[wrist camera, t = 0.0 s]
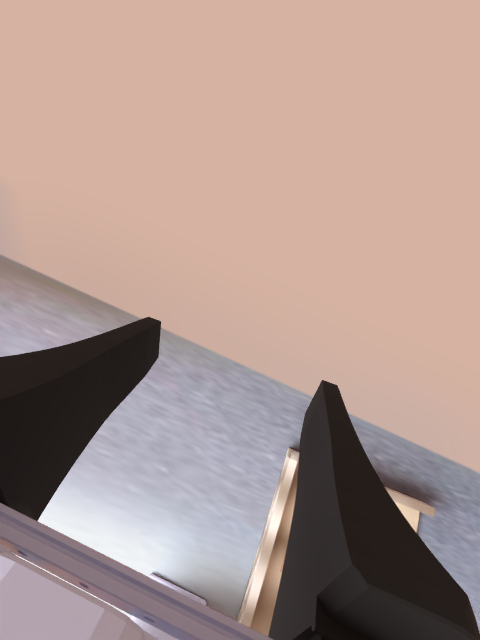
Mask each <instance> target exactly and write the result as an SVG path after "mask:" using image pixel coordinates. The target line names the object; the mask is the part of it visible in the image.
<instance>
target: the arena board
mask: <svg viewBox="0 0 480 640" xmlns="http://www.w3.org/2000/svg"><path fill="white" fill-rule="evenodd" d="M298 463H299V452H298V451H296V450H293V449H291V448H288V452H287V455H286V458H285V462H284V465H283V468H282V472H281V475H280V478H279V482H278V485H277V488H276V492H275V495H274V498H273V502H272V505H271V508H270V512H269V515H268V518H267V522H266V525H265V528H264V532H263V535H262V538H261V542H260V545H259V548H258V552H257V555H256V558H255V562H254V565H253V568H252V572H251V575H250V578H249V582H248V585H247V588H246V592H245V595H244V598H243V602H242V605H241V608H240V612H239V615H238V618H237V622H239V623H241V624H243V625H245V626H247V627H249V628H251V629H253V630H255V631H257V632H259V633H261V634H263V635H265V636H267V637H268V635H269V630H270V626H271V621H272V617H273V612H274V608H275V603H276V598H277V594H278V589H279V584H280V579H281V574H282V569H283V565H284V560H285V554H286V549H287V544H288V539H289V533H290V528H291V522H292V517H293V511H294V505H295V498H296V490H297V477H298ZM384 487H385V486H384ZM385 488H386V490H387V492H388V493H389V495H390V496H391V498H392V499H393V501H394V502H395V504H396V505H397V507H398V508H399V510H400V511H401V513H402V514H403V515H404V517H405V518H406V520H407V521H408V522H409V524H410V525H411V527H412V528H413V529H414V531H415V532H417V526H418V520H419V514H420V512H422V513H425V514H427V515H429V516H432V517H434V515H435V509H436V508H434V507H432V506H430V505H428V504H426V503H424V502H422V501H420V500H417V499H415V498H412V497H410V496H407V495H405V494H402V493H400V492H397V491H395V490H392V489H390V488H387V487H385Z"/></svg>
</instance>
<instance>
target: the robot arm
mask: <svg viewBox="0 0 480 640" xmlns="http://www.w3.org/2000/svg"><path fill="white" fill-rule="evenodd" d="M160 329H161V321H159V320H156V319H153V318H150V317H147V318H144V319H141V320H138V321H135V322H133V323H130V324H127V325H125V326H122V327H120V328H117V329H114V330H111V331H109V332H106V333H103V334H100V335H97V336H94V337H91V338H88V339H85V340H81V341H78V342H75V343H71V344H67V345H63V346H59V347H55V348H51V349H46V350H41V351H36V352H30V353H25V354H19V355H13V356H5V357H0V640H480V633H479V630H478V626H477V622H476V619H475V616H474V613H473V610H472V607H471V604H470V601H469V598H468V596H467V594H466V593H465V592H464V591H463V590H462V588H461V587H460V586H459V585H458V584H457V582H456V581H455V580H454V579H453V578H452V577H451V575H450V574H449V573H448V572H447V571H446V569H445V568H444V567H443V566H442V565H441V564H440V562H439V561H438V560H437V559H436V558H435V556H434V555H433V554H432V553H431V551H430V550H429V549H428V548H427V546H426V545H425V544H424V542H423V541H422V540H421V538H420V537H419V536H418V535H417V533H416V532H415V531H414V529H413V528H412V527H411V525H410V524H409V522H408V521H407V520H406V518H405V517H404V515H403V514H402V513H401V511H400V510H399V508H398V507H397V505H396V504H395V502H394V501H393V499H392V498H391V496H390V495H389V493H388V492H387V490H386V488H385V487H384V485H383V484H382V482H381V480H380V479H379V477H378V475H377V473H376V472H375V470H374V468H373V467H372V465H371V463H370V461H369V459H368V457H367V455H366V453H365V451H364V449H363V447H362V445H361V443H360V441H359V439H358V436H357V434H356V432H355V430H354V427H353V425H352V423H351V420H350V418H349V415H348V413H347V411H346V407H345V405H344V402H343V399H342V397H341V394H340V391H339V388H338V386H337V385H335V384H332V383H329V382H326V381H324V380H322V381H321V383H320V386H319V387H318V389H317V391H316V393H315V395H314V397H313V399H312V401H311V403H310V405H309V407H308V409H307V411H306V413H305V417H304V422H303V427H302V432H301V439H300V451H299V463H298V477H297V490H296V498H295V505H294V511H293V517H292V522H291V528H290V533H289V539H288V544H287V549H286V554H285V560H284V565H283V569H282V574H281V579H280V584H279V589H278V594H277V598H276V603H275V608H274V612H273V617H272V621H271V626H270V630H269V635H268V637H267V636H265V635H263V634H261V633H259V632H257V631H255V630H253V629H251V628H249V627H247V626H245V625H243V624H241V623H239V622H237V621H235V620H233V619H231V618H229V617H227V616H225V615H223V614H221V613H219V612H217V611H215V610H213V609H211V608H209V607H207V606H206V605H207V604H206V601H205V600H204V599H202V598H200V597H198V596H196V595H194V594H192V593H190V592H188V591H186V590H184V589H182V588H180V587H178V586H176V585H174V584H172V583H170V582H168V581H166V580H164V579H162V578H160V577H158V576H156V575H154V574H150V575H149V576H148V577H147V576H145V575H143V574H141V573H139V572H137V571H135V570H133V569H131V568H129V567H127V566H125V565H123V564H121V563H119V562H117V561H115V560H113V559H111V558H109V557H107V556H105V555H103V554H101V553H99V552H97V551H95V550H93V549H91V548H89V547H87V546H85V545H83V544H81V543H79V542H77V541H75V540H73V539H71V538H69V537H67V536H65V535H63V534H61V533H59V532H57V531H55V530H53V529H51V528H49V527H47V526H45V525H43V524H41V523H39V522H37V521H38V519H39V517H40V516H41V514H42V512H43V511H44V509H45V508H46V506H47V504H48V503H49V501H50V500H51V498H52V496H53V495H54V493H55V492H56V490H57V488H58V487H59V485H60V484H61V482H62V481H63V479H64V478H65V476H66V475H67V473H68V472H69V470H70V469H71V467H72V466H73V464H74V463H75V461H76V460H77V459H78V457H79V456H80V454H81V453H82V452H83V450H84V449H85V447H86V446H87V444H88V443H89V442H90V440H91V439H92V438H93V436H94V435H95V433H96V432H97V431H98V429H99V428H100V427H101V425H102V424H103V423H104V421H105V420H106V419H107V418H108V417H109V415H110V414H111V413H112V412H113V411H114V410H115V409H116V407H117V406H118V405H119V404H120V403H121V402H122V401H123V400H124V399H125V398H126V397H127V395H128V394H129V393H130V392H131V391H132V390H133V389H134V388H135V387H136V386H137V384H138V383H139V382H140V381H141V380H142V379H143V378H144V377H145V375H146V374H147V373H148V371H149V370H150V369H151V367H152V366H153V364H154V363H155V361H156V360H157V358H158V355H159V342H160ZM13 553H14V554H13ZM15 554H16V555H18V556H20V557H22V558H24V559H26V560H28V561H30V562H31V563H33V564H35V565H37V566H39V567H41V568H43V569H45V570H47V571H49V572H51V573H52V574H54V575H56V576H58V577H60V578H62V579H64V580H66V581H68V582H70V583H71V584H73V585H75V586H77V587H79V588H81V589H83V590H85V591H87V592H89V593H91V594H92V595H94V596H96V597H98V598H100V599H102V600H104V601H106V602H108V603H110V604H111V605H113V606H115V607H117V608H119V609H121V610H123V611H125V612H127V613H129V614H130V615H132V618H131V619H130V618H129V617H128V616H126V615H125V614H123V613H121V612H120V611H118V610H117V609H115V608H113V607H112V606H110V605H108V604H107V603H105V602H103V601H101V600H99V599H97V598H95V597H93V596H91V595H89V594H88V593H86V592H84V591H82V590H80V589H78V588H76V587H74V586H72V585H70V584H69V583H67V582H65V581H63V580H61V579H59V578H57V577H55V576H53V575H51V574H49V573H48V572H46V571H44V570H42V569H40V568H38V567H36V566H34V565H32V564H30V563H29V562H27V561H25V560H23V559H21V558H19V557H17V556H16V555H15Z"/></svg>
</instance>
